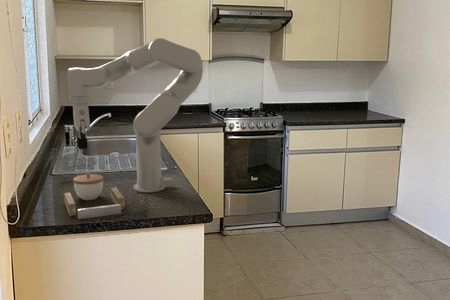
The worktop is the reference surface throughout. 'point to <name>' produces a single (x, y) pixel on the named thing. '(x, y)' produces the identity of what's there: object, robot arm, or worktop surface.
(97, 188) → the lidded jar
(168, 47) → the robot arm
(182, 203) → the worktop surface
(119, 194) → the bar
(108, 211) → the rail
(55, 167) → the worktop surface
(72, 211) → the rail far
